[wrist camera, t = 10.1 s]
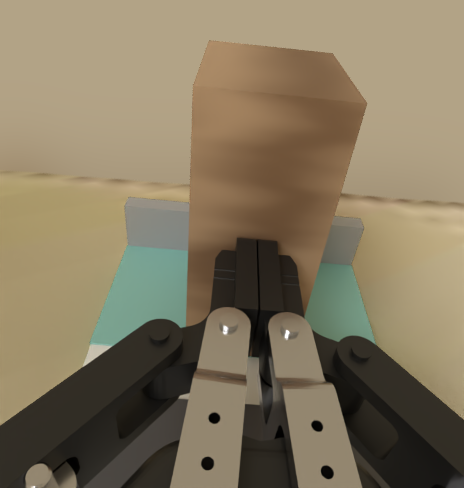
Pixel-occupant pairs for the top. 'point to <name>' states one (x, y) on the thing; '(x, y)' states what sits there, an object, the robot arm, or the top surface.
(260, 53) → the slider block
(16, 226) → the top surface
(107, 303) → the track
